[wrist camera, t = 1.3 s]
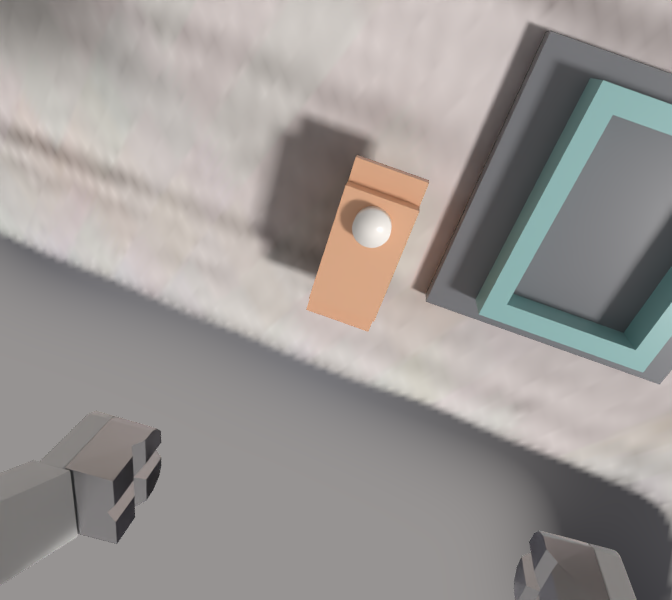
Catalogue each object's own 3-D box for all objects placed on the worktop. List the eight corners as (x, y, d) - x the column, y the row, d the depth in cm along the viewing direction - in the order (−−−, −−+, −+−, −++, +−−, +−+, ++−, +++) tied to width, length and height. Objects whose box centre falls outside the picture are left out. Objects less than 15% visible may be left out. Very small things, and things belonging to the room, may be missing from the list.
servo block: (319, 281, 34) (300, 323, 28) (364, 143, 29) (351, 164, 24) (374, 301, 34) (365, 346, 28) (428, 166, 29) (429, 191, 24)
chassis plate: (425, 294, 33) (426, 316, 30) (546, 31, 25) (561, 29, 22) (653, 375, 33) (673, 404, 30) (843, 137, 25) (892, 147, 22)
